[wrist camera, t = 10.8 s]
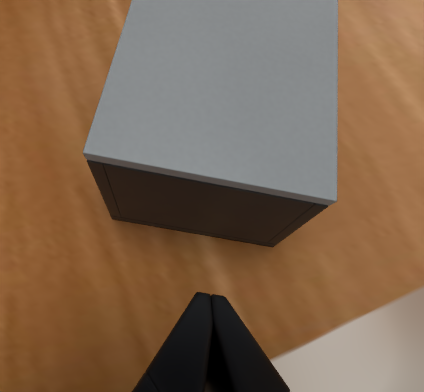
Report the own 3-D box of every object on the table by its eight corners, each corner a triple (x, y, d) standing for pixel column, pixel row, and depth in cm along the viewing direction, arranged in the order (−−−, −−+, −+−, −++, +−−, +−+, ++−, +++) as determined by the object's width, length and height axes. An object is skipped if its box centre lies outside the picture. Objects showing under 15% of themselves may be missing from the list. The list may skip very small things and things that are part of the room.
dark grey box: (150, 83, 29) (146, -12, 21) (280, 111, 30) (324, 31, 22) (111, 219, 23) (86, 161, 15) (273, 247, 24) (329, 207, 16)
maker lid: (148, -37, 20) (147, -51, 19) (332, 8, 21) (338, -3, 20) (86, 160, 15) (82, 152, 14) (329, 206, 16) (337, 201, 15)
